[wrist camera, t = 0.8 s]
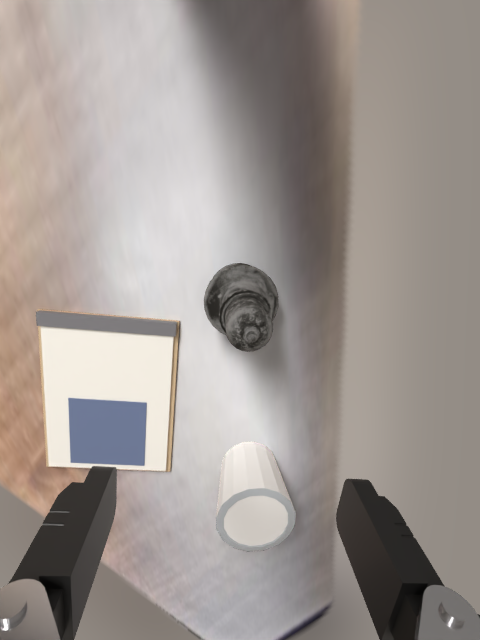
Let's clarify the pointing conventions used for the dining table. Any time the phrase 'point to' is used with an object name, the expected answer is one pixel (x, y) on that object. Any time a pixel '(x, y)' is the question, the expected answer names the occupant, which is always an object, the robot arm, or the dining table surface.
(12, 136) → the dining table surface
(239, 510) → the shot glass
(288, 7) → the dining table surface
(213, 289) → the dark grey chess bishop
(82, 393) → the order pad
